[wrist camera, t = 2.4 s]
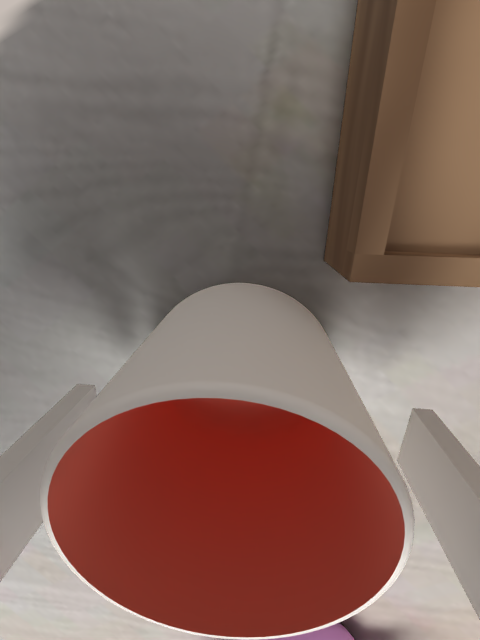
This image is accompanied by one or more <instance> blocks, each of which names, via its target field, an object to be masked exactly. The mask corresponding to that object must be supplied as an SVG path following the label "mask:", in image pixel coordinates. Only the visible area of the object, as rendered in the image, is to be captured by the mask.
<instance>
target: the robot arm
mask: <svg viewBox="0 0 480 640" xmlns="http://www.w3.org/2000/svg"><path fill="white" fill-rule="evenodd" d="M96 397H97V395H96V389H95V385H83V384H77V385H76V386H75V387H74V388H73V389H72V390H71V391H70V392H69V393H68V394H66V395H65V396H64V397H63V398H62V399H61V400H60V401H59V402H58V403H57V404H56V405H55V406H54V407H53V408H51V409H50V410H49V411H48V412H47V413H46V414H45V415H44V416H43V417H42V418H41V419H40V420H39V421H38V422H36V423H35V424H34V425H33V426H32V427H31V428H30V429H29V430H28V431H27V432H26V433H25V434H24V435H23V436H21V437H20V438H19V439H18V440H17V441H16V442H15V443H14V444H13V445H12V446H11V447H10V448H9V449H8V450H6V451H5V452H4V453H3V454H2V455H1V456H0V582H1V580H2V579H3V577H4V576H5V575H6V573H7V572H8V570H9V569H10V568H11V566H12V565H13V563H14V562H15V561H16V559H17V558H18V556H19V555H20V553H21V552H22V551H23V549H24V548H25V546H26V545H27V544H28V542H29V541H30V539H31V538H32V537H33V535H34V534H35V532H36V531H37V530H38V528H39V527H40V525H41V524H42V523H43V519H42V513H41V507H40V488H41V483H42V477H43V472H44V468H45V466H46V463H47V460H48V458H49V456H50V454H51V452H52V451H53V449H54V447H55V446H56V444H57V443H58V441H59V440H60V439H61V437H62V436H63V435H64V434H65V433H66V432H67V430H68V429H69V428H70V427H71V426H72V425H73V423H74V422H75V421H76V420H77V419H78V418H79V417H80V415H81V414H82V413H83V412H84V411H85V410H86V408H87V407H88V406H89V405H90V404H91V403H92V401H93V400H94V399H95V398H96ZM397 462H398V464H399V465H400V467H401V469H402V471H403V473H404V475H405V477H406V479H407V481H408V483H409V485H410V487H411V489H412V491H413V492H414V494H415V496H416V498H417V500H418V502H419V504H420V506H421V508H422V510H423V512H424V514H425V516H426V517H427V519H428V521H429V523H430V525H431V527H432V529H433V531H434V533H435V535H436V537H437V539H438V541H439V543H440V544H441V546H442V548H443V550H444V552H445V554H446V556H447V558H448V560H449V562H450V564H451V566H452V568H453V570H454V571H455V573H456V575H457V577H458V579H459V581H460V583H461V585H462V587H463V589H464V591H465V593H466V595H467V596H468V598H469V600H470V602H471V604H472V606H473V608H474V610H475V612H476V614H477V616H478V618H479V620H480V466H479V465H478V464H477V463H476V462H475V460H474V459H473V458H472V457H471V456H470V454H469V453H468V452H467V451H466V450H465V448H464V447H463V446H462V445H461V443H460V442H459V441H458V440H457V439H456V437H455V436H454V435H453V434H452V433H451V431H450V430H449V429H448V428H447V427H446V425H445V424H444V423H443V422H442V420H441V419H440V418H439V417H438V416H437V414H436V413H435V412H434V411H433V410H428V409H415V408H413V409H412V412H411V415H410V419H409V422H408V425H407V429H406V432H405V435H404V439H403V442H402V445H401V449H400V452H399V456H398V459H397Z"/></svg>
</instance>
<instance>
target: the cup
mask: <svg viewBox="0 0 480 640" xmlns="http://www.w3.org/2000/svg"><path fill="white" fill-rule="evenodd" d="M40 507H41V513H42V519H43V522H44V525H45V528H46V531H47V534H48V536H49V538H50V540H51V542H52V544H53V546H54V548H55V549H56V551H57V552H58V554H59V555H60V557H61V558H62V560H63V561H64V562H65V563H66V565H67V566H68V567H69V568H70V569H71V570H72V571H73V572H74V573H75V574H76V575H77V576H78V577H79V578H80V579H81V580H82V581H83V582H84V583H85V584H86V585H87V586H89V587H90V588H91V589H92V590H94V591H95V592H96V593H98V594H99V595H101V596H102V597H103V598H105V599H106V600H108V601H109V602H111V603H113V604H115V605H116V606H118V607H120V608H121V609H123V610H125V611H127V612H129V613H131V614H133V615H135V616H138V617H140V618H142V619H145V620H147V621H150V622H152V623H155V624H158V625H161V626H164V627H167V628H171V629H174V630H178V631H182V632H186V633H191V634H195V635H201V636H207V637H214V638H223V639H239V640H259V639H274V638H282V637H289V636H295V635H300V634H305V633H309V632H313V631H316V630H320V629H323V628H326V627H329V626H331V625H334V624H337V623H339V622H341V621H343V620H346V619H348V618H350V617H351V616H353V615H355V614H357V613H359V612H360V611H362V610H364V609H365V608H367V607H368V606H369V605H371V604H372V603H374V602H375V601H376V600H377V599H378V598H379V597H380V596H381V595H382V594H383V593H385V592H386V591H387V590H388V589H389V588H390V587H391V585H392V584H393V583H394V582H395V580H396V579H397V578H398V576H399V575H400V573H401V571H402V570H403V568H404V566H405V564H406V562H407V559H408V557H409V554H410V552H411V548H412V543H413V539H414V521H415V519H414V513H413V506H412V501H411V498H410V495H409V492H408V489H407V486H406V484H405V482H404V480H403V478H402V476H401V474H400V472H399V470H398V468H397V467H396V465H395V463H394V461H393V459H392V457H391V455H390V453H389V451H388V450H387V448H386V446H385V444H384V442H383V440H382V438H381V436H380V434H379V432H378V431H377V429H376V427H375V425H374V423H373V421H372V419H371V417H370V415H369V413H368V412H367V410H366V408H365V406H364V404H363V402H362V400H361V398H360V396H359V395H358V393H357V391H356V389H355V387H354V385H353V383H352V381H351V379H350V377H349V376H348V374H347V372H346V370H345V368H344V366H343V364H342V362H341V361H340V359H339V357H338V355H337V353H336V351H335V349H334V347H333V346H332V344H331V342H330V340H329V338H328V336H327V334H326V332H325V330H324V329H323V327H322V326H321V324H320V323H319V321H318V320H317V319H316V317H315V316H314V315H313V314H312V313H311V312H310V311H309V310H308V309H307V308H306V307H304V306H303V305H302V304H301V303H300V302H298V301H297V300H295V299H294V298H292V297H291V296H289V295H287V294H285V293H283V292H281V291H278V290H276V289H273V288H270V287H266V286H263V285H258V284H251V283H227V284H221V285H216V286H212V287H208V288H206V289H203V290H200V291H198V292H196V293H194V294H192V295H190V296H189V297H187V298H186V299H184V300H183V301H181V302H180V303H179V304H177V305H176V306H175V307H174V308H173V309H172V310H171V311H170V312H169V313H168V314H167V315H166V317H165V318H164V319H163V320H162V321H161V322H160V324H159V325H158V326H157V327H156V328H155V329H154V330H153V332H152V333H151V334H150V335H149V336H148V337H147V339H146V340H145V341H144V342H143V343H142V344H141V345H140V347H139V348H138V349H137V350H136V351H135V352H134V354H133V355H132V356H131V357H130V358H129V359H128V361H127V362H126V363H125V364H124V365H123V366H122V368H121V369H120V370H119V371H118V372H117V373H116V375H115V376H114V377H113V378H112V379H111V380H110V382H109V383H108V384H107V385H106V386H105V387H104V389H103V390H102V391H101V392H100V393H99V394H98V396H97V397H96V398H95V399H94V400H93V401H92V403H91V404H90V405H89V406H88V407H87V408H86V410H85V411H84V412H83V413H82V414H81V415H80V417H79V418H78V419H77V420H76V421H75V422H74V423H73V425H72V426H71V427H70V428H69V429H68V430H67V432H66V433H65V434H64V435H63V436H62V437H61V439H60V440H59V441H58V443H57V444H56V446H55V447H54V449H53V451H52V452H51V454H50V456H49V458H48V460H47V463H46V466H45V468H44V472H43V477H42V483H41V488H40Z"/></svg>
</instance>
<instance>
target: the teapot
mask: <svg viewBox="0 0 480 640" xmlns="http://www.w3.org/2000/svg"><path fill="white" fill-rule="evenodd" d="M237 640H239V639H237ZM259 640H355V639H354V638H353V637H352V635H351V634H350V633H349V632H348V630H347V629H346V628H345V627H344V626H343V625H341V624H340V623H337V624H334V625H331V626H329V627H326V628H323V629H320V630H316V631H313V632H309V633H305V634H300V635H295V636H289V637H282V638H274V639H259Z"/></svg>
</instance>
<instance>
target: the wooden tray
mask: <svg viewBox="0 0 480 640" xmlns="http://www.w3.org/2000/svg"><path fill="white" fill-rule="evenodd" d="M324 261H325V262H326V263H327V264H329V265H330V266H331V267H332V268H333V269H335V270H336V271H337V272H338V273H340V274H341V275H342V276H343V277H344V278H346V279H347V280H348V281H349V282H361V283H387V284H413V285H438V286H464V287H480V0H358V4H357V12H356V20H355V27H354V35H353V42H352V50H351V58H350V65H349V73H348V81H347V88H346V96H345V103H344V111H343V119H342V126H341V134H340V142H339V149H338V157H337V164H336V172H335V180H334V187H333V195H332V203H331V210H330V218H329V225H328V233H327V241H326V248H325V256H324Z"/></svg>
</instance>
